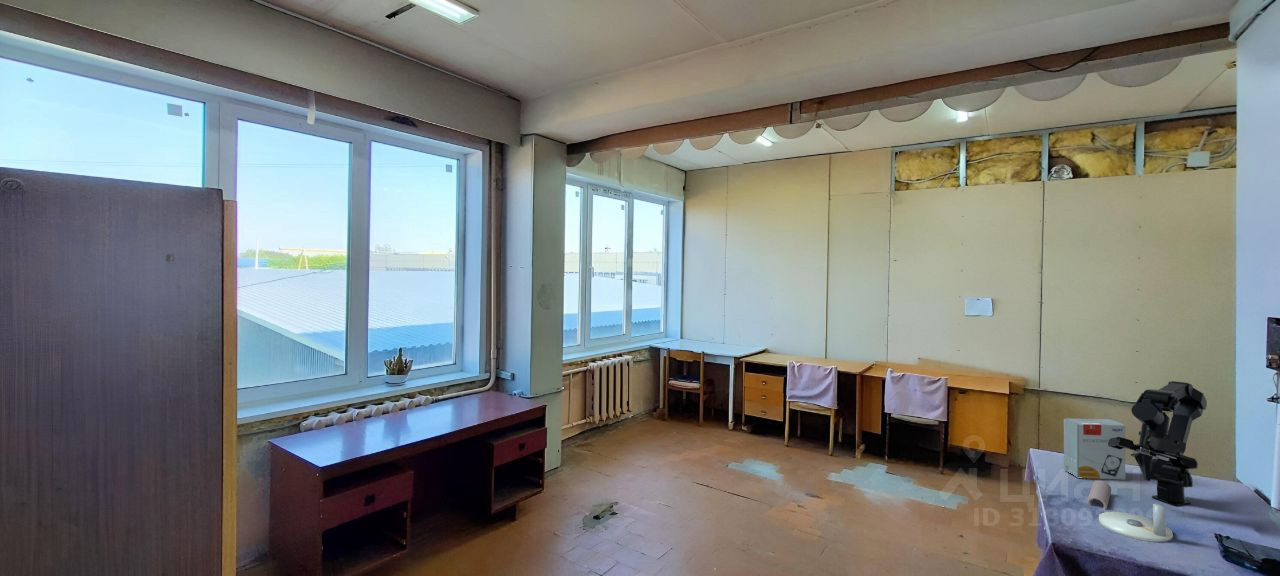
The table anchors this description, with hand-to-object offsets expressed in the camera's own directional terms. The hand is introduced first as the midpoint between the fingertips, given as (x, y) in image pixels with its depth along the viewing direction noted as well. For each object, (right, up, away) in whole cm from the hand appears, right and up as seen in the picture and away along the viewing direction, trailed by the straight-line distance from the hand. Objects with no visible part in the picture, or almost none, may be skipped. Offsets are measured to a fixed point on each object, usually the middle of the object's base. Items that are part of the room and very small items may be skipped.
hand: (1147, 480), depth 151 cm
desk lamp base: (-11, -11, -7) cm, 17 cm away
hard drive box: (+13, -10, +32) cm, 36 cm away
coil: (-4, -12, +11) cm, 17 cm away
